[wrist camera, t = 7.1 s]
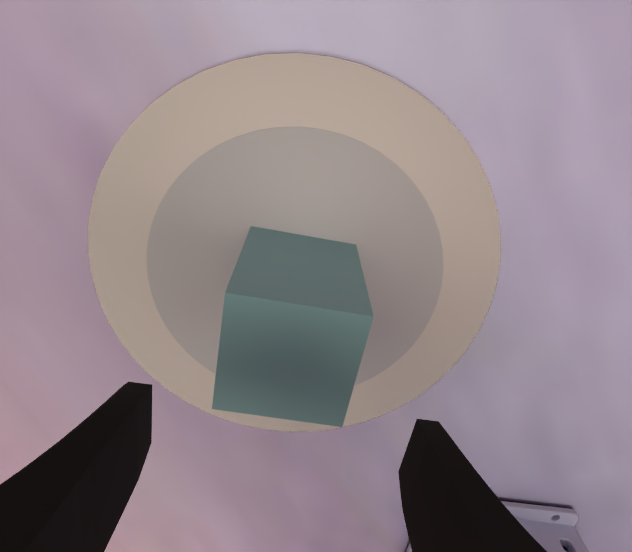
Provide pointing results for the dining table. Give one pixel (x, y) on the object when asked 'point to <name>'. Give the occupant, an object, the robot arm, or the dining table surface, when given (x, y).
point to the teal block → (292, 328)
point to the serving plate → (294, 220)
